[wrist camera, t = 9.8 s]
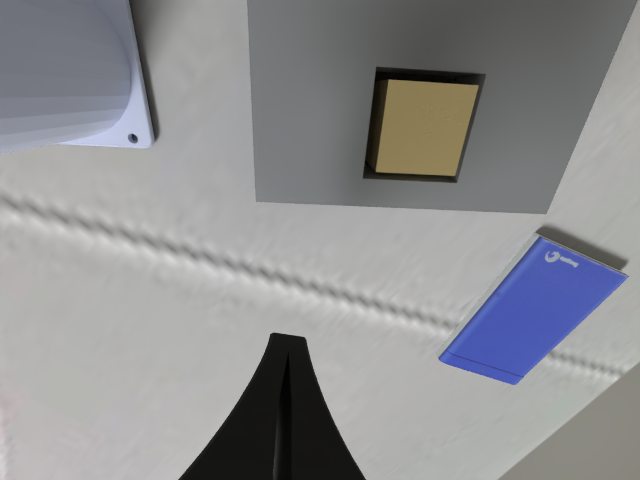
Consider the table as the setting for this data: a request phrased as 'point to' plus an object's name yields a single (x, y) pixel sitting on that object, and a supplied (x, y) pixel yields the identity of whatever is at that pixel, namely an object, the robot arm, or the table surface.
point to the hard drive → (529, 310)
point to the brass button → (418, 126)
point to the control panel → (425, 59)
